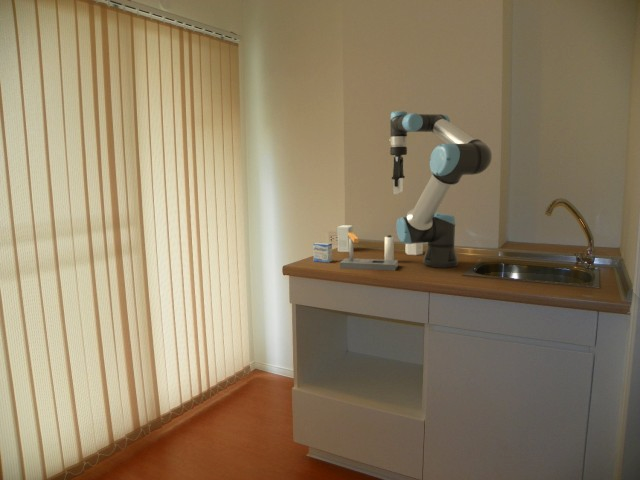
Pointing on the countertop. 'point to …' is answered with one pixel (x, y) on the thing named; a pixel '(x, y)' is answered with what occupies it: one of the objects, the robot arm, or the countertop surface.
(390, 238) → the plug
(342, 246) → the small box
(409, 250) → the jar
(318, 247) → the medicine box
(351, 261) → the grey post stand
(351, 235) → the bar
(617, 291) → the countertop surface
